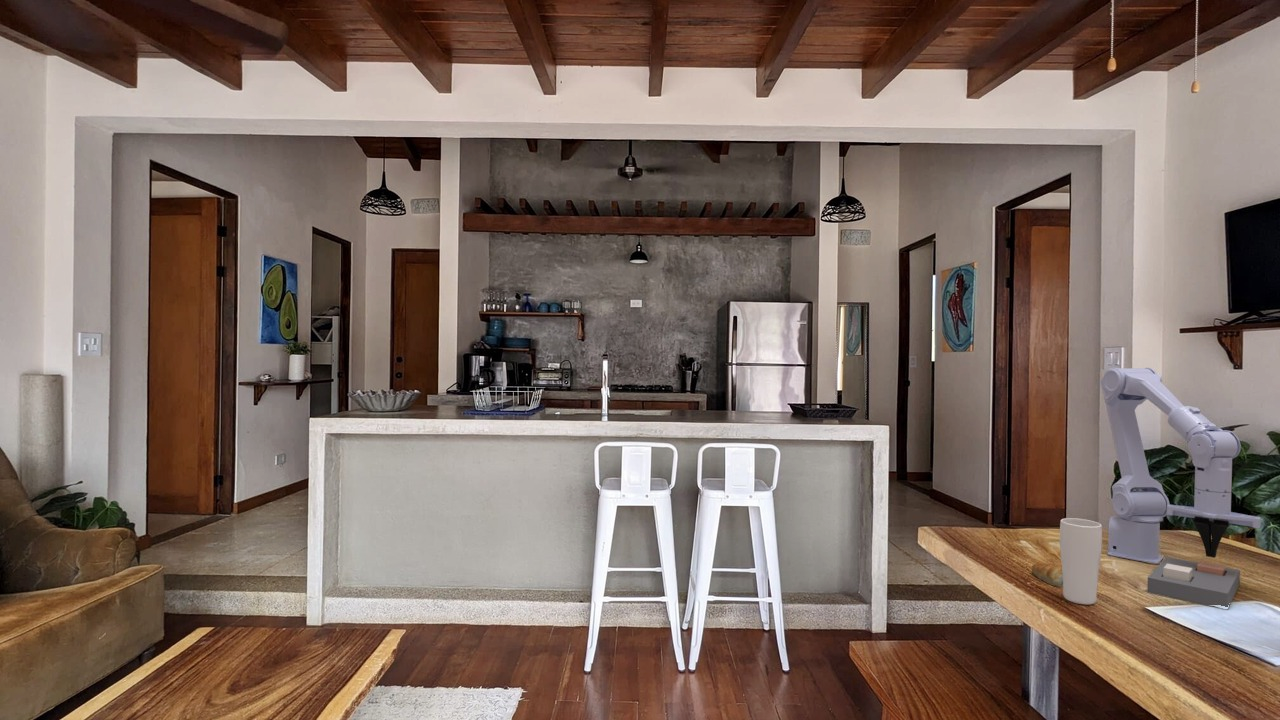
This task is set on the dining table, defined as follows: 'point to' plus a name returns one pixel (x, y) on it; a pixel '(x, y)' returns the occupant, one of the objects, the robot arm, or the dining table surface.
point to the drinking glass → (1080, 559)
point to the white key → (1177, 572)
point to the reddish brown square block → (1211, 568)
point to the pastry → (1049, 573)
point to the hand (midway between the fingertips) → (1211, 556)
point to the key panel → (1195, 584)
